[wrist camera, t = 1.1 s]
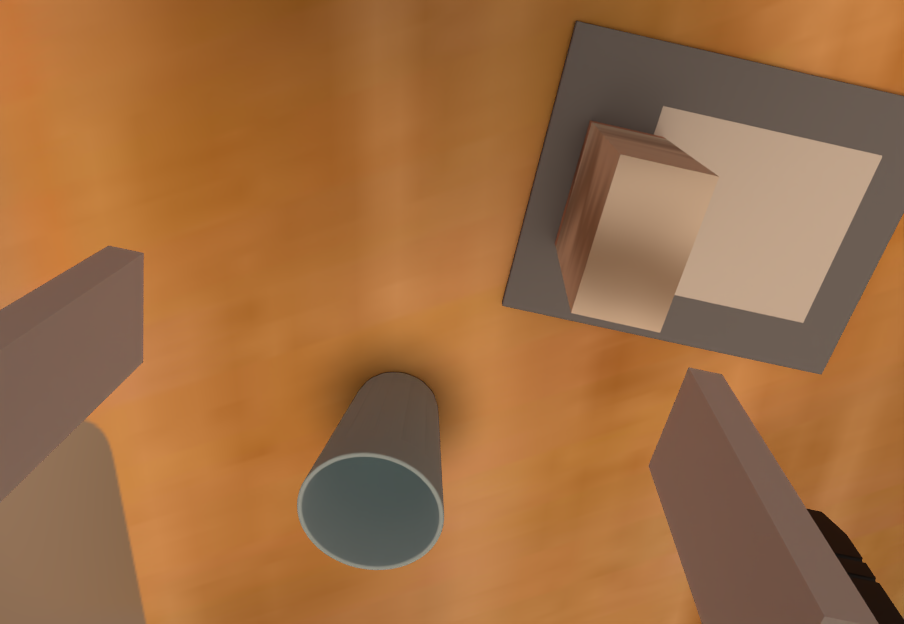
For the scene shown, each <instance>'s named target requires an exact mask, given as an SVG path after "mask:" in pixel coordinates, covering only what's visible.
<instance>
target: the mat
mask: <svg viewBox="0 0 904 624" xmlns="http://www.w3.org/2000/svg"><path fill="white" fill-rule="evenodd" d="M590 120H591V121H596V122H600V123H605V124H609V125H613V126H618V127H622V128H627V129H631V130H635V131H640V132H644V133H649V134H653V135H657V136H662V137H664V138H665V139H667V140H668V141H670V142H671V143H673V144H674V145H675V146H677V147H678V148H680V149H681V150H682V151H684V152H685V153H687V154H688V155H689V156H691V157H692V158H694V159H695V160H696V161H698V162H699V163H701V164H702V165H703V166H705V167H706V168H708V169H709V170H711V171H712V172H713V173H715V174H716V175H718V176H719V179H718V181H717V184H716V187H715V189H714V192H713V195H712V197H711V200H710V203H709V205H708V208H707V210H706V213H705V216H704V218H703V221H702V224H701V226H700V229H699V232H698V234H697V237H696V239H695V242H694V245H693V247H692V250H691V253H690V255H689V258H688V261H687V263H686V266H685V268H684V271H683V274H682V276H681V279H680V282H679V284H678V287H677V290H676V292H675V295H674V297H673V300H672V303H671V305H670V308H669V311H668V313H667V316H666V319H665V321H664V324H663V326H662V329H661V332H660V333H659V332H654V331H650V330H645V329H641V328H636V327H632V326H627V325H623V324H618V323H614V322H609V321H605V320H600V319H596V318H591V317H587V316H582V315H578V314H573V313H571V311H570V306H569V302H568V298H567V294H566V289H565V285H564V281H563V276H562V272H561V268H560V264H559V259H558V255H557V251H556V246H555V240H556V237H557V233H558V230H559V226H560V223H561V219H562V216H563V212H564V209H565V206H566V202H567V199H568V195H569V192H570V188H571V185H572V181H573V178H574V174H575V171H576V167H577V164H578V160H579V157H580V153H581V150H582V146H583V143H584V139H585V136H586V132H587V129H588V125H589V122H590ZM903 213H904V96H900V95H896V94H892V93H887V92H883V91H879V90H874V89H870V88H866V87H861V86H857V85H852V84H848V83H844V82H839V81H835V80H831V79H826V78H822V77H818V76H813V75H809V74H805V73H800V72H796V71H792V70H787V69H783V68H779V67H774V66H770V65H766V64H761V63H757V62H753V61H748V60H744V59H740V58H735V57H731V56H727V55H722V54H718V53H713V52H709V51H705V50H700V49H696V48H692V47H687V46H683V45H679V44H674V43H670V42H666V41H661V40H657V39H653V38H648V37H644V36H640V35H635V34H631V33H627V32H622V31H618V30H614V29H609V28H605V27H601V26H596V25H592V24H588V23H583V22H579V21H576V23H575V26H574V30H573V34H572V38H571V42H570V46H569V49H568V53H567V57H566V61H565V65H564V68H563V72H562V76H561V80H560V84H559V87H558V91H557V95H556V99H555V103H554V107H553V110H552V114H551V118H550V122H549V126H548V129H547V133H546V137H545V141H544V145H543V148H542V152H541V156H540V160H539V164H538V168H537V171H536V175H535V179H534V183H533V187H532V190H531V194H530V198H529V202H528V206H527V209H526V213H525V217H524V221H523V225H522V229H521V232H520V236H519V240H518V244H517V248H516V251H515V255H514V259H513V263H512V267H511V270H510V274H509V278H508V282H507V286H506V290H505V293H504V297H503V301H502V306H506V307H510V308H515V309H520V310H524V311H529V312H534V313H538V314H543V315H548V316H552V317H557V318H561V319H566V320H571V321H575V322H580V323H585V324H589V325H594V326H599V327H603V328H608V329H612V330H617V331H622V332H626V333H631V334H636V335H640V336H645V337H650V338H654V339H659V340H663V341H668V342H673V343H677V344H682V345H687V346H691V347H696V348H701V349H705V350H710V351H715V352H719V353H724V354H728V355H733V356H738V357H742V358H747V359H752V360H756V361H761V362H766V363H770V364H775V365H779V366H784V367H789V368H793V369H798V370H803V371H807V372H812V373H817V374H822V372H823V370H824V368H825V366H826V365H827V363H828V361H829V359H830V357H831V355H832V353H833V351H834V349H835V347H836V345H837V343H838V341H839V339H840V337H841V335H842V333H843V331H844V329H845V327H846V325H847V323H848V321H849V319H850V317H851V315H852V313H853V311H854V309H855V307H856V305H857V303H858V301H859V300H860V298H861V296H862V294H863V292H864V290H865V288H866V286H867V284H868V282H869V280H870V278H871V276H872V274H873V272H874V270H875V268H876V266H877V264H878V262H879V260H880V258H881V256H882V254H883V252H884V250H885V248H886V246H887V244H888V242H889V240H890V238H891V237H892V235H893V233H894V231H895V229H896V227H897V225H898V223H899V221H900V219H901V217H902V215H903Z"/></svg>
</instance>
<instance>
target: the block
mask: <svg viewBox="0 0 904 624" xmlns="http://www.w3.org/2000/svg"><path fill="white" fill-rule="evenodd" d="M718 179H719V176H718V175H716V174H715V173H713V172H712V171H711V170H709V169H708V168H706V167H705V166H703V165H702V164H701V163H699V162H698V161H696V160H695V159H694V158H692V157H691V156H689V155H688V154H687V153H685V152H684V151H682V150H681V149H680V148H678V147H677V146H675V145H674V144H673V143H671V142H670V141H668V140H667V139H665V138H664V137H662V136H657V135H653V134H649V133H644V132H640V131H635V130H631V129H627V128H622V127H618V126H613V125H609V124H605V123H600V122H596V121H591V120H590V122H589V125H588V129H587V132H586V136H585V139H584V143H583V146H582V150H581V153H580V157H579V160H578V164H577V167H576V171H575V174H574V178H573V181H572V185H571V188H570V192H569V195H568V199H567V202H566V206H565V209H564V212H563V216H562V219H561V223H560V226H559V230H558V233H557V237H556V240H555V246H556V251H557V255H558V259H559V264H560V268H561V272H562V276H563V281H564V285H565V289H566V294H567V298H568V302H569V306H570V311H571V313H573V314H578V315H582V316H587V317H591V318H596V319H600V320H605V321H609V322H614V323H618V324H623V325H627V326H632V327H636V328H641V329H645V330H650V331H654V332H659V333H660V332H661V329H662V326H663V324H664V321H665V319H666V316H667V313H668V311H669V308H670V305H671V303H672V300H673V297H674V295H675V292H676V290H677V287H678V284H679V282H680V279H681V276H682V274H683V271H684V268H685V266H686V263H687V261H688V258H689V255H690V253H691V250H692V247H693V245H694V242H695V239H696V237H697V234H698V232H699V229H700V226H701V224H702V221H703V218H704V216H705V213H706V210H707V208H708V205H709V203H710V200H711V197H712V195H713V192H714V189H715V187H716V184H717V181H718Z"/></svg>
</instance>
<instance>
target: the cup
mask: <svg viewBox="0 0 904 624" xmlns="http://www.w3.org/2000/svg"><path fill="white" fill-rule="evenodd" d="M297 510H298V516H299V520H300V523H301V525H302V527H303V529H304V531H305V533H306V534H307V536H308V537H309V539H310V540H311V541H312V542H313V543H314V544H315V545H316V546H317V547H318V548H319V549H320V550H321V551H322V552H324V553H325V554H327V555H328V556H330V557H331V558H333V559H335V560H337V561H339V562H342V563H344V564H347V565H350V566H353V567H357V568H362V569H370V570H385V569H393V568H398V567H402V566H405V565H408V564H410V563H412V562H414V561H416V560H418V559H419V558H421V557H422V556H424V555H425V554H426V553H427V552H428V551H430V549H431V548H432V547H433V546H434V545H435V543H436V542H437V540H438V538H439V536H440V534H441V532H442V528H443V523H444V505H443V488H442V470H441V451H440V432H439V416H438V406H437V403H436V400H435V396H434V394H433V393H432V391H431V390H430V389H429V388H428V387H427V385H425V384H424V383H423V382H422V381H421V380H419V379H418V378H416V377H413V376H411V375H408V374H405V373H398V372H389V373H383V374H380V375H378V376H375V377H373V378H371V379H370V380H368V381H367V382H366V383H365V384H364V386H363V387H362V388H361V389H360V390H359V392H358V393H357V395H356V396H355V398H354V400H353V401H352V403H351V404H350V406H349V408H348V409H347V411H346V413H345V414H344V416H343V418H342V419H341V421H340V423H339V424H338V426H337V428H336V429H335V431H334V433H333V434H332V436H331V438H330V439H329V441H328V443H327V444H326V446H325V448H324V449H323V451H322V453H321V454H320V456H319V457H318V459H317V460H316V462H315V464H314V465H313V467H312V469H311V470H310V472H309V474H308V475H307V477H306V479H305V480H304V482H303V484H302V486H301V488H300V491H299V495H298V500H297Z"/></svg>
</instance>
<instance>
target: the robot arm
mask: <svg viewBox="0 0 904 624" xmlns="http://www.w3.org/2000/svg"><path fill="white" fill-rule="evenodd" d="M143 259H144V253H141V252H136V251H132V250H127V249H122V248H117V247H112V246H107V247H105V248H104V249H102V250H100V251H99V252H97V253H95V254H94V255H92V256H90V257H89V258H87V259H85V260H84V261H82V262H80V263H79V264H77V265H75V266H74V267H72V268H70V269H68V270H67V271H65V272H63V273H62V274H60V275H58V276H57V277H55V278H53V279H52V280H50V281H48V282H47V283H45V284H43V285H42V286H40V287H38V288H37V289H35V290H33V291H32V292H30V293H28V294H27V295H25V296H23V297H22V298H20V299H18V300H16V301H15V302H13V303H11V304H10V305H8V306H6V307H5V308H3V309H1V310H0V502H1V501H2V500H3V499H4V498H5V497H6V496H7V495H8V494H9V493H10V492H11V491H12V490H13V489H14V488H16V486H18V484H19V483H21V482H22V481H23V480H24V479H25V478H26V477H27V476H28V474H30V473H31V472H32V471H33V470H34V469H35V468H36V467H37V466H38V465H39V464H40V463H41V462H42V461H43V460H44V459H45V458H46V457H47V456H48V455H49V454H50V453H51V452H52V451H53V450H54V449H55V448H56V447H57V446H58V445H59V444H60V443H61V442H62V441H63V440H64V439H65V438H66V437H67V436H68V435H69V434H70V433H71V432H72V431H73V430H74V429H75V428H76V427H77V426H78V425H80V423H82V422H83V421H84V420H85V419H86V418H87V417H88V416H89V415H90V414H91V413H92V412H93V411H94V410H95V409H96V408H97V407H98V406H99V405H100V404H101V403H102V402H103V401H104V400H105V399H106V398H107V397H108V396H109V395H110V394H111V393H112V392H113V391H114V390H115V389H116V388H117V387H118V386H119V385H120V384H121V383H122V382H123V381H124V380H125V379H126V378H127V377H128V376H129V375H130V374H131V373H132V372H133V371H134V370H135V369H136V368H137V367H138V366H139V365H140V364H141V363H143ZM649 468H650V471H651V474H652V477H653V480H654V483H655V486H656V489H657V492H658V495H659V498H660V501H661V504H662V507H663V510H664V513H665V516H666V519H667V522H668V524H669V527H670V530H671V533H672V536H673V539H674V542H675V545H676V548H677V551H678V554H679V557H680V560H681V563H682V566H683V569H684V572H685V575H686V578H687V581H688V584H689V587H690V589H691V592H692V595H693V598H694V601H695V604H696V607H697V610H698V613H699V616H700V619H701V622H702V624H904V619H903V618H902V616H901V615H900V613H899V612H898V610H897V609H896V607H895V606H894V604H893V603H892V601H891V600H890V598H889V597H888V595H887V594H886V592H885V591H884V589H883V588H882V586H881V585H880V584H879V583H876V582H875V579H876V578H875V576H874V575H873V573H872V572H871V570H870V569H869V567H868V566H867V564H866V563H863V562H862V557H861V555H860V554H859V552H858V551H857V549H856V548H855V546H854V545H853V543H852V542H851V540H850V539H849V538H848V536H847V535H846V534H845V533H844V532H843V531H842V530H841V529H840V528H839V527H838V526H837V525H836V524H834V523H833V522H832V521H831V520H830V519H829V518H828V517H827V516H826V515H825V514H824V513H822V512H820V511H815V510H810V509H806V507H805V506H804V504H803V503H802V501H801V499H800V498H799V496H798V495H797V493H796V491H795V490H794V488H793V487H792V485H791V483H790V482H789V480H788V479H787V477H786V475H785V474H784V472H783V471H782V469H781V468H780V466H779V464H778V463H777V461H776V460H775V458H774V456H773V455H772V453H771V452H770V450H769V448H768V447H767V445H766V444H765V442H764V440H763V439H762V437H761V436H760V434H759V433H758V431H757V429H756V428H755V426H754V425H753V423H752V421H751V420H750V418H749V417H748V415H747V413H746V412H745V410H744V409H743V407H742V405H741V404H740V402H739V401H738V399H737V398H736V396H735V394H734V393H733V391H732V390H731V388H730V386H729V385H728V383H727V382H726V380H725V378H724V377H723V375H722V374H717V373H712V372H708V371H703V370H698V369H693V368H688V370H687V373H686V375H685V378H684V380H683V383H682V385H681V388H680V390H679V393H678V395H677V397H676V400H675V402H674V405H673V407H672V410H671V412H670V415H669V417H668V420H667V422H666V424H665V427H664V429H663V432H662V434H661V437H660V439H659V442H658V444H657V446H656V449H655V451H654V454H653V456H652V459H651V461H650V464H649Z"/></svg>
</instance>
